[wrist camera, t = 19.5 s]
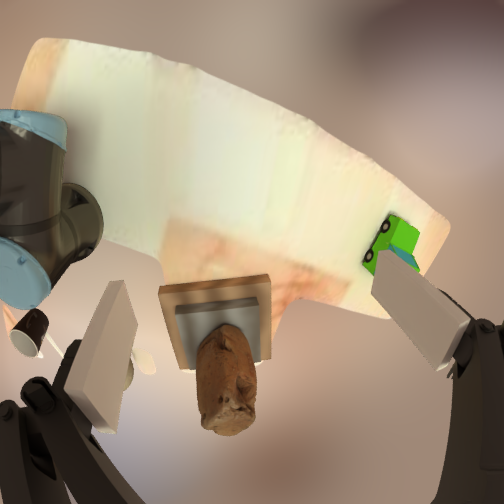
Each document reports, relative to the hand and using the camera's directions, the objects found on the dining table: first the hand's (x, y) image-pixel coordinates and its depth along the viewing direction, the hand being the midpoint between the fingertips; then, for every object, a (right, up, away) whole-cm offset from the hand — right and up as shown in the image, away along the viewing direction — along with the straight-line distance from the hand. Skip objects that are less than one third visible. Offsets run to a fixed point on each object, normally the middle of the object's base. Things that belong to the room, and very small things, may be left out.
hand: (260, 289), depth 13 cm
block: (-7, -16, +41) cm, 45 cm away
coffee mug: (-52, -14, +38) cm, 66 cm away
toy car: (+30, +4, +45) cm, 54 cm away
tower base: (-8, -14, +46) cm, 49 cm away
